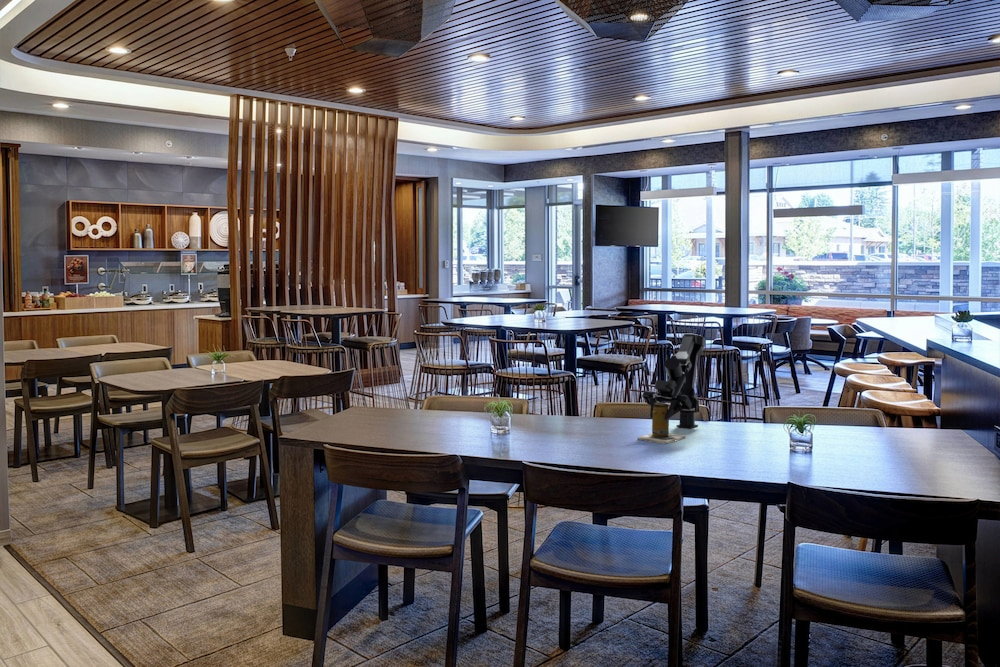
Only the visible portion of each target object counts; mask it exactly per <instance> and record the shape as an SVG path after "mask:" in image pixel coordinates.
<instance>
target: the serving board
mask: <svg viewBox="0 0 1000 667" xmlns="http://www.w3.org/2000/svg"><path fill="white" fill-rule="evenodd" d="M669 434H670V435H674V436H676V437H673V438H668V439H664V438H658V437H652V436H648V435H649V434H644V435H642V436H638V437H637V438H636V440H637V439H639V440H638V441H642V440H646V441H645V442H648V441H651V442H650V443H654V442H657V443H656V444H661V443H664V444H663V445H667V444H666V443H668V444H670V443H669V442H671V443H674V442H676V441H675V440H678V441H680V440H679V439H681V440H683V439H682V438H684V439H686V435H681V434H674V433H669ZM673 441H674V442H673Z"/></svg>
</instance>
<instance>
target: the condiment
mask: <svg viewBox="0 0 1000 667" xmlns="http://www.w3.org/2000/svg"><path fill="white" fill-rule="evenodd" d="M668 409H669V403H666V402H658V403H655V404H654V410H653V412H652V413H653V415H652V418H651V419H652V420H651V421H652V422H651V433H650V434H649V435H648V434H647V435H648V436H652V437H658V438H664V439H668V438H673V437H676V436H674V435H670V434H671V433H670V432H669V430H670V428H669V427H670V425H669V424H670V418H669V419H667V420H665V416H666V413H667V411H668Z"/></svg>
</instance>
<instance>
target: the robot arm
mask: <svg viewBox="0 0 1000 667" xmlns="http://www.w3.org/2000/svg"><path fill="white" fill-rule="evenodd" d="M706 341H707V339H706V337H704V336H703V335H698V334H696V333H691V332H690V333H683V335H682V341H681V344H680V346H679V349H678V352H677V353H674V354H673V355H671V356H670V357H669V358H667V359H666V360H665V361H664V363H663V366H664V368H665V371H666V374H667V377H668V379H667V380H660V379H659V380H658V379H656V380H655V383H654V384H655V385H654V389H655V390H657V391H658V392H657V393H658V394H659V395H657V394H656V392H655V391H648V390H645V391H643V393H642V395H641V397H642V398H643V400H644V402H645V403H646V404H647V405H649V406H650V412H649V413H650V415H649V417H650V418H651V419H652V415H653V413H652V412H653V410H654V404H655V403H665V404H670V405H669V406H668V411H667V413H666V416H665V420H667V419H669V420H670V418H671V417H673V416H674V415H676V414H679V424H676V427H678V426H679V427H678V428H685V427H687V428H686V429H693V428H696V427H698V426H699V424H696V423H695V422H696V421H695V419H696V416H695V415H696V414H697V413H700V409H701V408H700V402H699V400H698V396H697V394H696V392H695V383H696V377H697V376H696V374H697V370H698V369H697V368H698V360H699V357H700V356H701V355H702V354H703V353H704V349H705V347H706V344H707V343H706ZM695 426H696V427H695ZM692 427H693V428H692Z"/></svg>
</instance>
